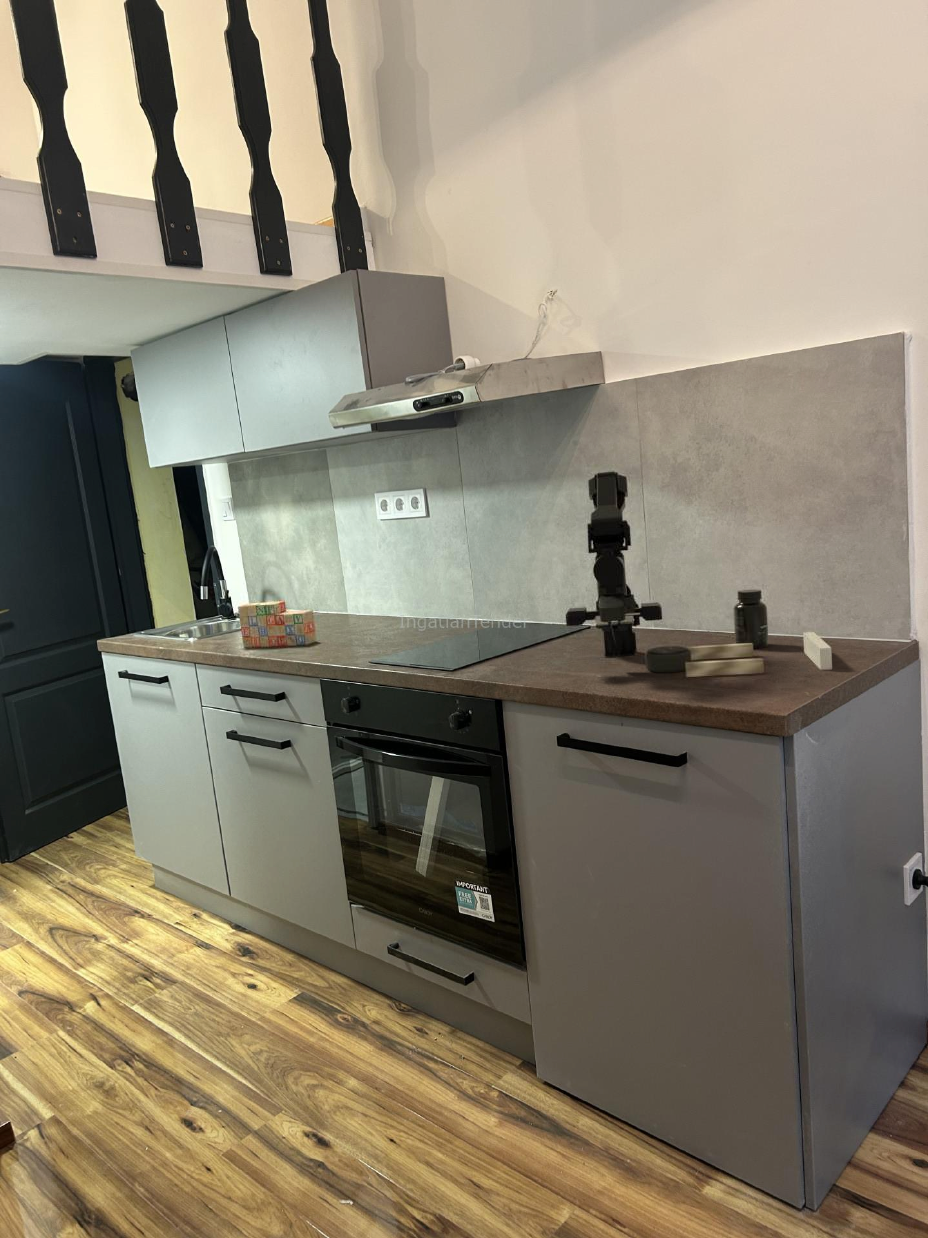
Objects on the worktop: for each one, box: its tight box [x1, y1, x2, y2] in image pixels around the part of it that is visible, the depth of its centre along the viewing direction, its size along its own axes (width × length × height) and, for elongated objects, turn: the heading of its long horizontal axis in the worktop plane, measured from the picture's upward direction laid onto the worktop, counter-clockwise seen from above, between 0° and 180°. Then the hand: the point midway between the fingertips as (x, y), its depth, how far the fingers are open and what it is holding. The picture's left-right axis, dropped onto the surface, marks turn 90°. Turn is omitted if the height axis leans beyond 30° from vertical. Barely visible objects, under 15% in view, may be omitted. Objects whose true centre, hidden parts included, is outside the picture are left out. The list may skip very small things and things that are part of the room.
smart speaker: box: [644, 645, 692, 674], centre depth 180 cm, size 9×9×4 cm
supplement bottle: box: [733, 589, 769, 650], centre depth 193 cm, size 7×7×12 cm
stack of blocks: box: [237, 600, 317, 648], centre depth 261 cm, size 21×6×12 cm, turn 68°
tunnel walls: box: [684, 643, 765, 678], centre depth 178 cm, size 14×17×2 cm
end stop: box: [802, 631, 833, 671], centre depth 174 cm, size 2×17×4 cm, turn 169°
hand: (616, 656), depth 182 cm, fingers closed
